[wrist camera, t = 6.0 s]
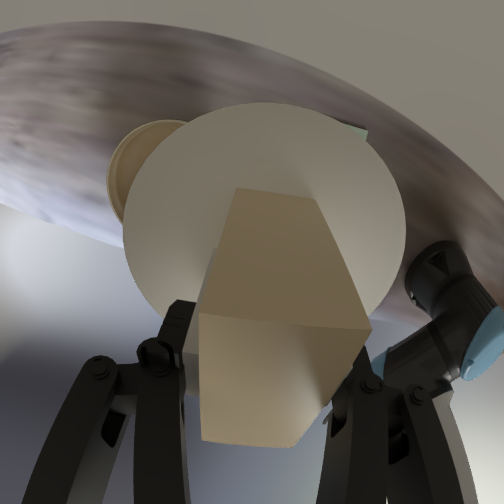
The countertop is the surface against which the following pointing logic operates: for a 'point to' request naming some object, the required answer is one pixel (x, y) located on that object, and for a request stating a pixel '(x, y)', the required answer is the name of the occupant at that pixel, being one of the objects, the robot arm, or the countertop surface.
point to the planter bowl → (134, 159)
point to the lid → (267, 258)
